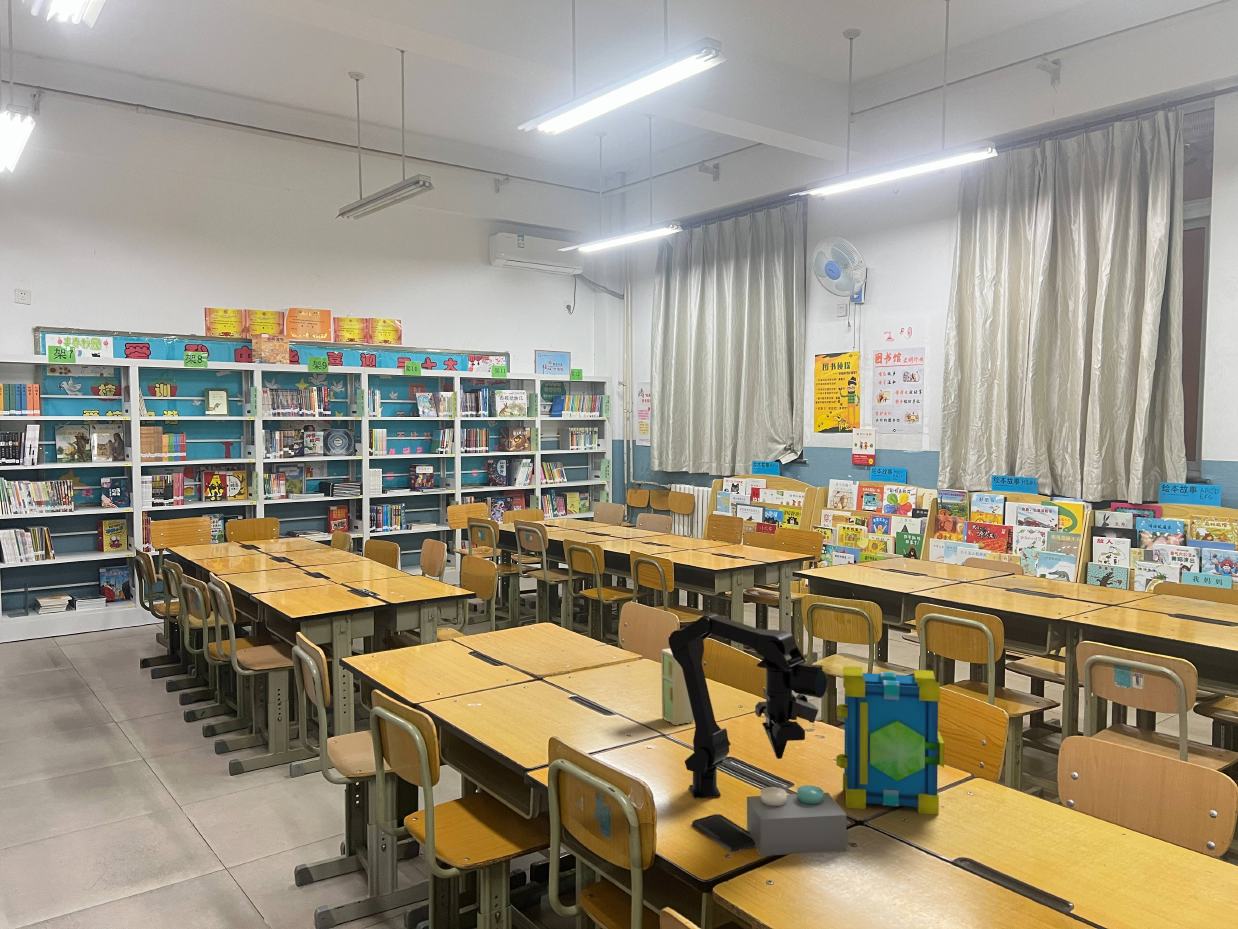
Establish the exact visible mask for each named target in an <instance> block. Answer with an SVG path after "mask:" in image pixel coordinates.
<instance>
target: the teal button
mask: <svg viewBox="0 0 1238 929" xmlns="http://www.w3.org/2000/svg"><path fill="white" fill-rule="evenodd" d="M796 792H797V793H796V794H797V799H798V800H799V801H800V802H803V803H806V804H819V803H821V802H823V793H824V790H823V789H822V788H821V787H819V786H816V785H809V784H808V785H807V784H806V785H801V786H799V787H797V789H796Z"/></svg>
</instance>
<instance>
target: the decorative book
mask: <svg viewBox="0 0 1238 929" xmlns="http://www.w3.org/2000/svg"><path fill="white" fill-rule="evenodd" d="M842 669H843V670H842V672H843V673H842V676H843V677H842V683H843V684H842V686H843V688H844V703H843V704H842V703H841V704H837V705H836V716H838V717H839V718H843V719H844V753H839V754H838V755H836V759H835V760H836V762H835V765H836V766H837V767H839V768H841V769H844V770H843V771H844V772H842V791H844V792H845V808H849V809H862V810H866V809H867V807H866V806H867V804H875V805H876V804H877V805H882V806H886V807H887V806H888V807H889V806H890V807H899V806H900V807H901V806H902V807H915V808H917V812H918V814H925V815H935V814H936V815H937V816H938V815H939V814H940V813H939V810H940V809H939V807H940V801H939V800H940V799H939V798H940V796H939V793H938V770H939V769H938V767H939V766H940V767H941V768H945V741H944V739H943V737H942V734H941V732H940V730H939V702H940V699H941V697H940V696H941V693H940V692H941V691H940V690H941V687H940V686H941V682H938V681H936V678H935V674H934V670H928V669H927V670H923V669H922V670H920V669H913V675H907V674H896V672H893V671H891V672H889V671H888V672H887V671H880V672H879V673H868V672H865V673H864V672H863V667H862V666H861V667H859V666H842Z"/></svg>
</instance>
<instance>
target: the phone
mask: <svg viewBox="0 0 1238 929" xmlns="http://www.w3.org/2000/svg"><path fill="white" fill-rule="evenodd" d="M691 826H692V827H694V829H696V830H698V832H700V833H702V834H703V835H705V836H706V837H707V838H709V839H711V840H712V841H713V842H715V843H717V844H718V845H720V846H721V847H723V848H724V849H725V850H727V851H729V852H730V853H737V852H740V851H741V852H742V851H744V850H747V849H751V848H755V842H754V840H753V838H752V837H751V835H750V833H749V832H748V831H747V829H745V828H743V827H741V826H740V825H738V823H737V824H736V823H735V822H734V821H732V820H730V819H728V818H727V817H725V816H724V815H722V814H720V813H719V814H718V813H716V814H711V815H708V816H705V817H701V818H697V819H693V820H692V821H691Z"/></svg>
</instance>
